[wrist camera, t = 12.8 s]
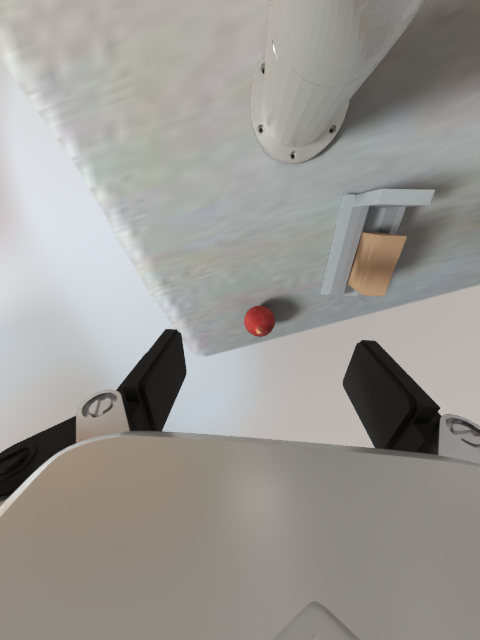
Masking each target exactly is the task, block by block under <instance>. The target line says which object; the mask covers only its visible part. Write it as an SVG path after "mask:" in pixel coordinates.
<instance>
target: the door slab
mask: <svg viewBox="0 0 480 640" xmlns="http://www.w3.org/2000/svg"><path fill="white" fill-rule="evenodd" d="M406 238H407V236H403V235H395V234H387V233H380V232H365V231H362V233H361V236H360V240H359V243H358V247H357V250H356V254H355V257H354V260H353V264H352V267H351V271H350V274H349V278H348V281H347V284H348V285H349V286H351V287H352V288H353V289H355V290H356V291H357V292H359V293H360V294H362V295H368V296H384V295H385V292H386V290H387V287H388V285H389V282H390V279H391V277H392V274H393V272H394V269H395V267H396V264H397V261H398V259H399V256H400V254H401V251H402V249H403V246H404V243H405V241H406Z"/></svg>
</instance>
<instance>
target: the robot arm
mask: <svg viewBox="0 0 480 640" xmlns="http://www.w3.org/2000/svg"><path fill="white" fill-rule="evenodd" d="M424 1H425V0H269V11H268V26H267V41H266V52H265V53H264V55H263V57H262V59H261V60H260V63H259V65H258V68H257V71H256V73H255V77H254V81H253V85H252V92H251V117H252V124H253V128H254V132H255V134H256V137H257V139H258V141H259V143H260V145H261V146H262V148H263V149H264V150H265V151H266V152H267V153H268V154H269V155H270V156H271V157H273V158H274V159H276V160H277V161H280V162H283V163H289V164H295V163H301V162H304V161H307V160H309V159H311V158H313V157H314V156H316V155H317V154H319V153H320V152H321V151H322V150H323V149H324V148H325V147H326V146H327V145H328V144H329V143H330V142H331V141H332V140H333V138H334V137H335V135H336V134H337V132H338V131H339V129H340V127H341V125H342V123H343V121H344V119H345V116H346V113H347V110H348V107H349V102H350V99H351V98H352V96H353V95H354V94H355V93H356V91H357V90H358V89H359V88H360V86H361V85H362V84H363V83H364V82H365V80H366V79H367V78H368V77H369V75H370V74H371V73H372V72H373V70H374V69H375V68H376V67H377V65H378V64H379V63H380V62H381V61H382V59H383V58H384V57H385V56H386V54H387V53H388V52H389V51H390V49H391V48H392V47H393V45H394V44H395V43H396V42H397V40H398V39H399V38H400V37H401V35H402V34H403V33H404V31H405V30H406V29H407V27H408V26H409V24H410V23H411V21H412V20H413V19H414V17H415V16H416V14H417V12H418V11H419V9H420V8H421V6H422V4H423V3H424ZM263 71H265V72H264V74H263V73H262V72H263ZM260 129H262V130H263V132H262V133H260V132H259V130H260ZM330 129H331V130H332V133H330V132H329V130H330ZM291 155H294V158H293V159H292V158H291ZM185 376H186V364H185V357H184V350H183V343H182V336H181V333H180V332H178V331H177V330H173V329H166V330H165V331H164V332H163V333H162V335H161V336H160V337H159V338H158V340H157V341H156V342H155V343H154V345H153V346H152V347H151V348H150V350H149V351H148V352H147V353H146V354H145V355H144V356H143V357H142V359H141V360H140V361H139V362H138V364H137V365H136V366H135V367H134V369H133V370H132V371H131V372H130V374H129V375H128V376H127V377H126V379H125V380H124V381H123V382H122V384H121V385H120V386H119V387H118V389H117V390H104V391H100V392H97V393H95V394H93V395H91V396H90V397H88V398H87V399H86V400H85V401H84V402H83V403H81V405H80V406H79V408H78V409H77V413H76V416H75V417H72V418H70V419H68V420H66V421H64V422H62V423H60V424H57V425H55V426H53V427H51V428H49V429H47V430H45V431H42V432H40V433H38V434H36V435H34V436H32V437H30V438H27V439H26V440H23V441H21V442H19V443H17V444H15V445H13V446H11V447H9V448H7V449H6V450H4V451H3V452H1V453H0V640H480V426H478V425H477V424H475V423H473V422H471V421H469V420H467V419H465V418H462V417H460V416H456V415H452V414H445V415H443V416H441V415H440V414H439V413H438V410H439V409H440V407H439V406H438V405H437V404H436V403H435V402H434V401H433V400H432V399H431V398H430V397H429V396H428V395H427V394H426V393H425V392H424V391H423V389H421V387H420V386H419V385H418V384H417V383H416V382H415V381H414V380H413V379H412V378H411V377H410V376H409V375H408V374H407V373H406V372H405V371H404V370H403V369H402V368H401V367H400V366H399V365H398V364H397V363H396V362H395V361H394V360H393V358H392V357H391V356H390V355H389V354H388V353H387V352H386V351H385V350H384V349H383V348H382V347H381V346H380V345H379V344H378V343H377V342H376V341H368V340H362V341H361V342H360V343H357V345H356V347H355V350H354V353H353V355H352V358H351V361H350V363H349V366H348V369H347V371H346V374H345V377H344V379H343V387H344V389H345V391H346V393H347V394H348V396H349V399H350V400H351V402H352V404H353V406H354V408H355V410H356V412H357V414H358V416H359V418H360V420H361V422H362V424H363V425H364V427H365V429H366V431H367V433H368V435H369V437H370V439H371V441H372V442H373V445H374V447H375V448H365V447H354V446H343V445H331V444H319V443H308V442H295V441H283V440H271V439H258V438H246V437H234V436H220V435H208V434H195V433H179V432H162V429H163V427H164V424H165V422H166V420H167V418H168V415H169V413H170V411H171V408H172V406H173V404H174V401H175V399H176V397H177V395H178V392H179V390H180V388H181V386H182V383H183V381H184V379H185Z"/></svg>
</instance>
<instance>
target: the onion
mask: <svg viewBox="0 0 480 640" xmlns="http://www.w3.org/2000/svg"><path fill="white" fill-rule="evenodd" d="M244 323H245V327H246V329H247V331H248V332H250V333H251V334H252V335H254V336H259V337H262V336H266V335H267V334H269V333H270V332H271V331H272V329H273V327H274V325H275V317H274V315H273V313H272V312H271V311H270V310H269V309H268V308H266V307H264V306H255V307H252V308H251V309H250V310H248V311H247V313H246V316H245V321H244Z"/></svg>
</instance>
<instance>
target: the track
mask: <svg viewBox="0 0 480 640" xmlns="http://www.w3.org/2000/svg"><path fill="white" fill-rule="evenodd" d="M434 192H435V190H424V189H379V190H375V191H370V192H365V193H361V194H356V195H351V194H345V195H343V197H342V201H341V205H340V210H339V214H338V218H337V223H336V227H335V231H334V236H333V240H332V244H331V249H330V253H329V257H328V262H327V266H326V270H325V275H324V279H323V283H322V288H321V292H320V293H321V294H323V295H331V296H332V297H333V299H334V300H335V301H342V298H343V295H345V296H358V297H359V298H360V299H362V300H363V301H364V302H370V303H371V301H372V298H373V296H368V295H362V294H360V293H359V292H357V291H356V290H355V289H353V288H352V287H351V286H349V285H348V284H347V281H348V278H349V274H350V271H351V267H352V264H353V260H354V257H355V254H356V250H357V247H358V243H359V240H360V236H361V233H362V231H365V232H380V233H387V234H395V235H396V233H397V231H398V228H399V225H400V223H401V220H402V217H403V215H404V212H405V209H406V207H414V206H429V204H430V202H431V199H432V197H433V195H434Z"/></svg>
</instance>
